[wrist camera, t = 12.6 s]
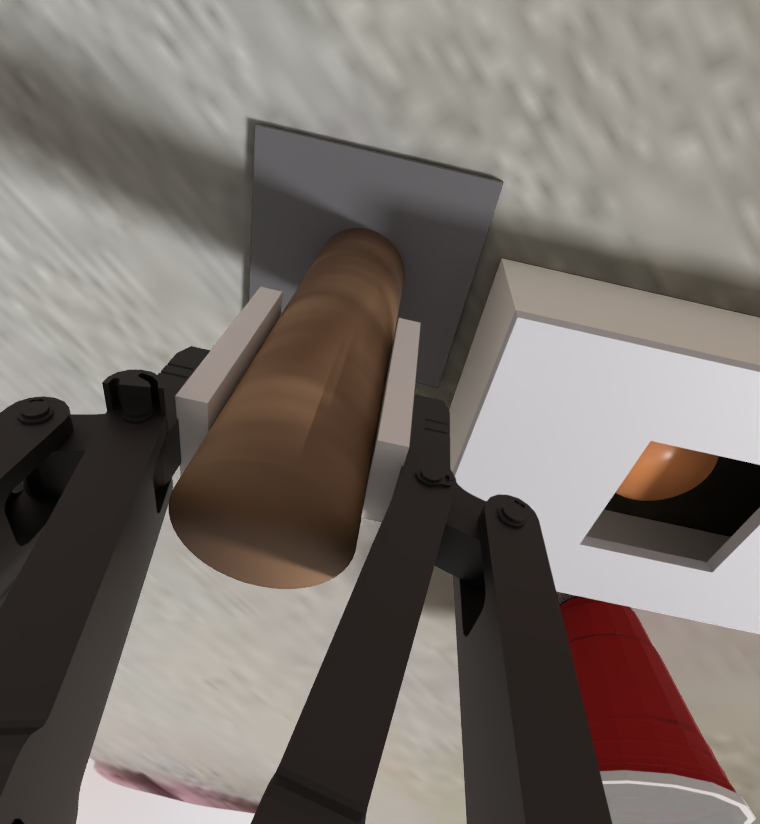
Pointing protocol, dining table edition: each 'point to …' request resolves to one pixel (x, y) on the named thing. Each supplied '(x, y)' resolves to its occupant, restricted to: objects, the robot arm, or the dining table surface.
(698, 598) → the box
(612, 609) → the plastic cup
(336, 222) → the pad
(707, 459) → the orange dome button
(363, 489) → the wooden rod
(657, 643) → the dining table surface
